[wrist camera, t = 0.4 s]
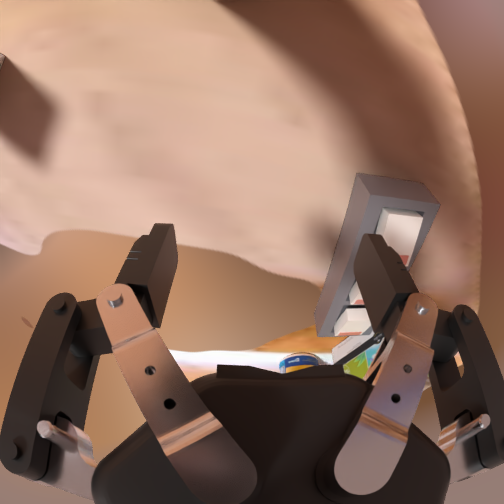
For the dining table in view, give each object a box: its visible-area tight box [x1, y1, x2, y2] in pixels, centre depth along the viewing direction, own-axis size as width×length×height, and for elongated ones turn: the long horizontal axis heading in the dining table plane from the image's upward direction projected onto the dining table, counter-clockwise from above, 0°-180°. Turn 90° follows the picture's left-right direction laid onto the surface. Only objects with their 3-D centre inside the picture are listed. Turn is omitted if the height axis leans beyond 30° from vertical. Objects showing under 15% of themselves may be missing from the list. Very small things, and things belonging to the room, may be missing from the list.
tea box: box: [332, 331, 431, 390], centre depth 45 cm, size 15×10×15 cm
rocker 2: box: [334, 308, 371, 336], centre depth 38 cm, size 6×4×2 cm
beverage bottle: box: [279, 353, 318, 373], centre depth 50 cm, size 8×8×20 cm
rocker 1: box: [349, 281, 364, 305], centre depth 33 cm, size 6×4×2 cm
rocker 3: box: [376, 207, 423, 266], centre depth 28 cm, size 6×4×2 cm
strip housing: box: [314, 173, 441, 337], centre depth 35 cm, size 25×9×4 cm, turn 177°
